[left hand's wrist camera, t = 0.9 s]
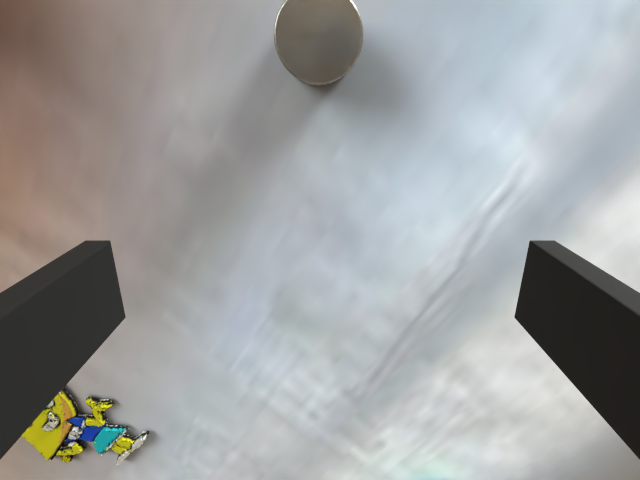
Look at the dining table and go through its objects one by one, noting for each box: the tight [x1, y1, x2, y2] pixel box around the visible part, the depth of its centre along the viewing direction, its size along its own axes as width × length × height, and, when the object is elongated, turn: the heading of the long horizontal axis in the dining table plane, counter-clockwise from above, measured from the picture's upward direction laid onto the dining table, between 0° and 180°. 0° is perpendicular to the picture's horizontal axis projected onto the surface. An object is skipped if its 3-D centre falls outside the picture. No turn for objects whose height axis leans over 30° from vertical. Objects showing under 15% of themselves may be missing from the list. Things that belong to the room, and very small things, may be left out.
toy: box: [21, 388, 150, 465], centre depth 35 cm, size 10×1×15 cm
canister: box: [274, 0, 363, 86], centre depth 23 cm, size 5×5×4 cm
